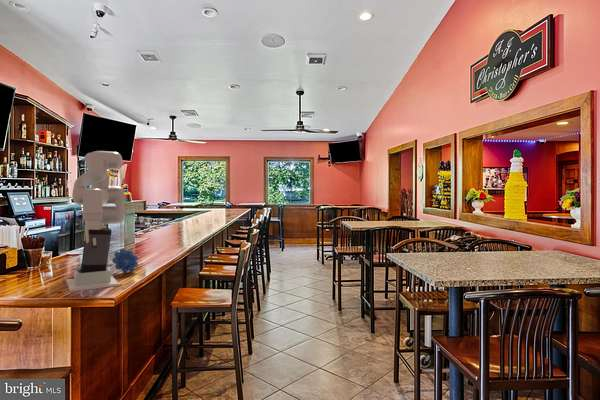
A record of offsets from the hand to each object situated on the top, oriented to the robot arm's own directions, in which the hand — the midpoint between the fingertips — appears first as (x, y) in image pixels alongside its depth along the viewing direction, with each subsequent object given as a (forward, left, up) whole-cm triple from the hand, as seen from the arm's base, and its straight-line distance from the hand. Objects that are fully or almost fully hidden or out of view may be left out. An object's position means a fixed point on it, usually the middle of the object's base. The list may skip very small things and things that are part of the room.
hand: (92, 258), depth 163 cm
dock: (0, 0, -11) cm, 11 cm away
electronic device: (0, 0, -7) cm, 7 cm away
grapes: (-14, +16, -11) cm, 24 cm away
